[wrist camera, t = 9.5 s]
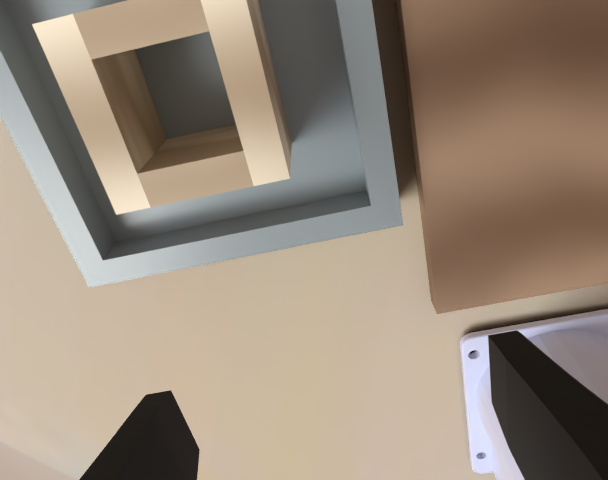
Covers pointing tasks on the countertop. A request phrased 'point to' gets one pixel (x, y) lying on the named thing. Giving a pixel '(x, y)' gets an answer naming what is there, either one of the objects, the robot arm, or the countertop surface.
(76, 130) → the tray
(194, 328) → the countertop surface
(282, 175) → the hollow wooden block
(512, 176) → the stake board
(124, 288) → the countertop surface
